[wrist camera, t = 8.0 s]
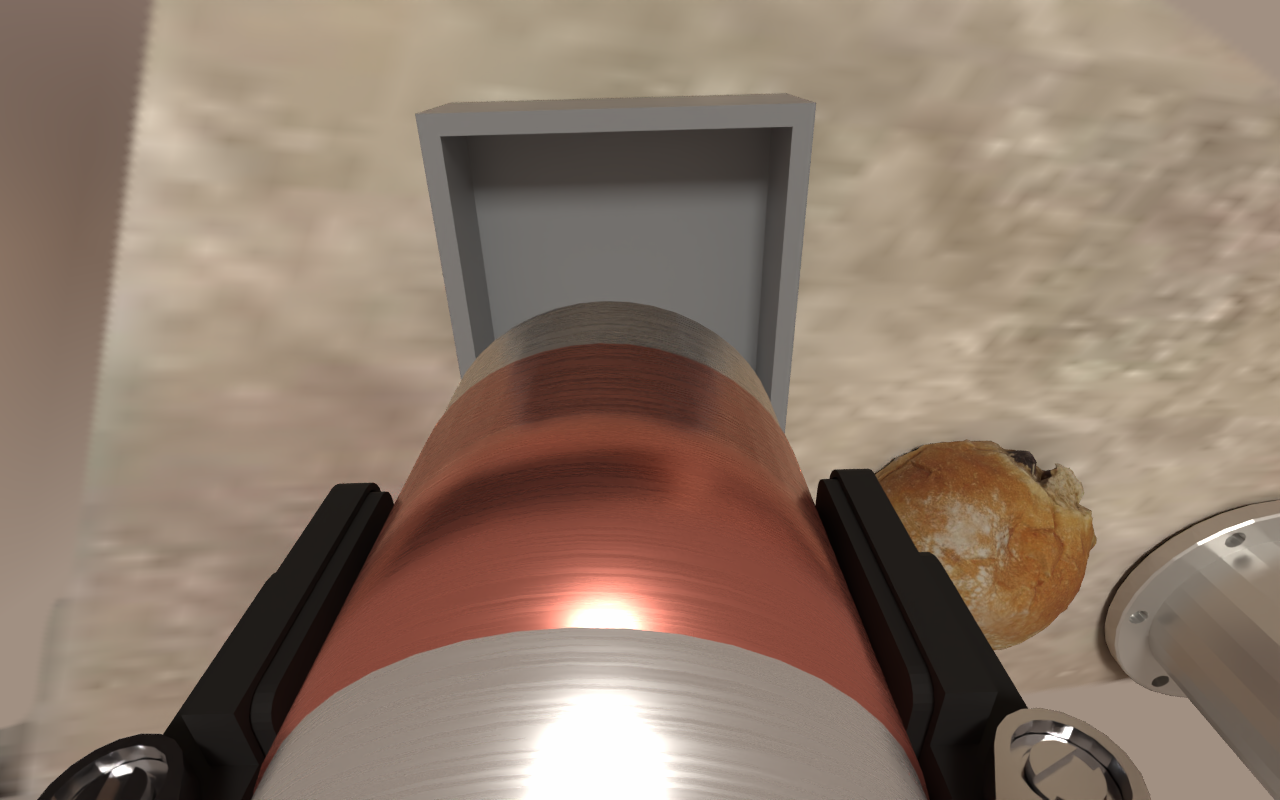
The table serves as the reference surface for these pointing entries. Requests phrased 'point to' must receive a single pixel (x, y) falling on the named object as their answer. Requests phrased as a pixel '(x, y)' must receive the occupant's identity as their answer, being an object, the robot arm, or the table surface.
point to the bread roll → (996, 530)
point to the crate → (625, 214)
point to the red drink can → (599, 596)
